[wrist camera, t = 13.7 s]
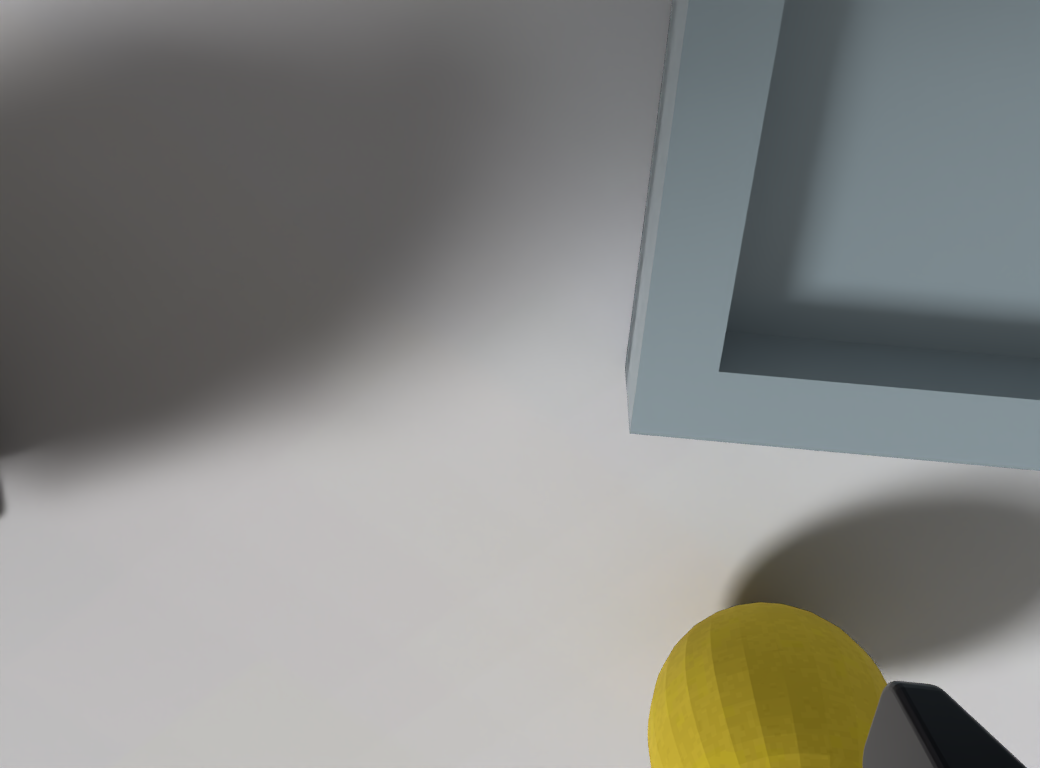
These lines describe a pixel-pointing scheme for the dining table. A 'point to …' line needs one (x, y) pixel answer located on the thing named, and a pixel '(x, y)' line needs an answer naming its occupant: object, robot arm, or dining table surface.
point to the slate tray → (845, 230)
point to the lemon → (763, 693)
